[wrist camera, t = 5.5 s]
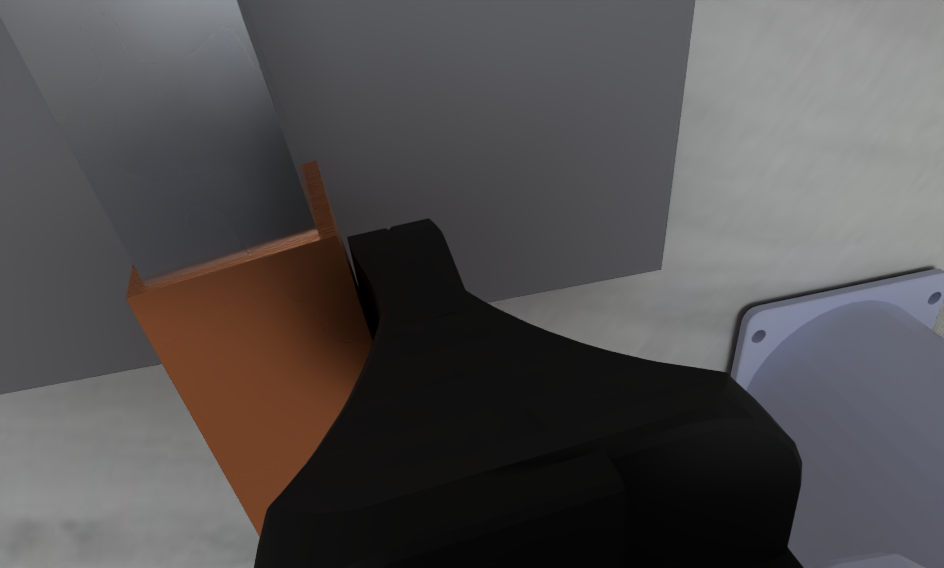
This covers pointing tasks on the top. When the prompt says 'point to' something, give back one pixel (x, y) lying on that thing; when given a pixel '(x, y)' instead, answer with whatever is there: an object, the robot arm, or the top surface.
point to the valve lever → (209, 219)
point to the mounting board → (385, 157)
